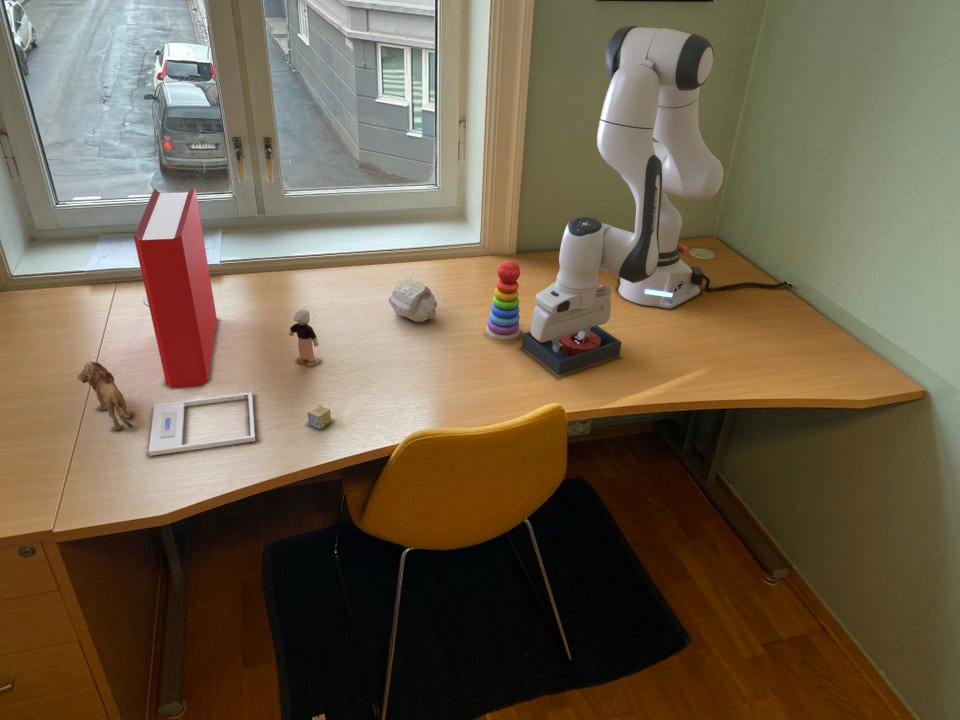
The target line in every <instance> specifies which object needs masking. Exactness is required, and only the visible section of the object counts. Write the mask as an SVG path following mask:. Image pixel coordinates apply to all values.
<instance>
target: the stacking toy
mask: <svg viewBox="0 0 960 720" xmlns="http://www.w3.org/2000/svg"><path fill="white" fill-rule="evenodd" d="M497 276H498V278H499V280H498V281H497V282H496V288H495V289H494V292H493V293H494V296H493V298H492V304H491V308H490V310H491V311H490V313H489V318H488V320H487V322H486V324H487V325H486V328H485V333H486V336H488V337H489V338H490V339H492V340H495V341H498V342H499V341H500V342H511V341H514V340H517V339H518V338H519V337H520V335H521V330H520V319H521V317H520V306H519V305H520V299H519V291H518V290H519V287H520V284H519V281H517V280H519V278H520V276H521V268H520V265H519V263H517V262H516V261H513V260H505V261H503V262H501V263H500V264H499V266H498V268H497Z"/></svg>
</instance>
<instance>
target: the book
mask: <svg viewBox="0 0 960 720" xmlns="http://www.w3.org/2000/svg"><path fill="white" fill-rule="evenodd" d="M145 207H146V208H145V210H144V211H143V214H142V216H141V219H140V221H139V224H138V226H137V229H136V230H135V233H134V235H133V240H134V244H135V245H134V246H135V249H136V254H137V258H138V262H139V267H140V272H141V277H142V281H143V285H144V290H145V294H146V298H147V303H148V308H149V312H150V317H151V321H152V326H153V331H154V334H155V339H156V343H157V349H158V354H159V357H160V362H161V366H162V367H161V368H162V371H163V376H164V380H165V381H164V382H165V385H166V386H167V387H169V388H171V389H176V388H189V387H201V386H202V385H204V384H206V383H207V382H209V378H210V371H211V370H210V369H211V364H212V358H213V357H212V356H213V351H214V342H215V337H216V336H215V335H216V330H217V329H216V328H217V324H218V318H217V311H216V306H215V299H214V293H213V287H212V280H211V276H210V275H211V274H210V268H209V263H208V258H207V257H208V256H207V251H206V245H205V240H204V233H203V227H202V221H201V215H200V214H201V213H200V209H199V202H198V196H197V191H196V187H193V188H192V189H191V190H189V191H188V192H187V191H184V192H160V191H159V190H157V189H156V188H153V191H152V193H151V196H150V197H149V200H148V202H147V205H146V206H145Z"/></svg>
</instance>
